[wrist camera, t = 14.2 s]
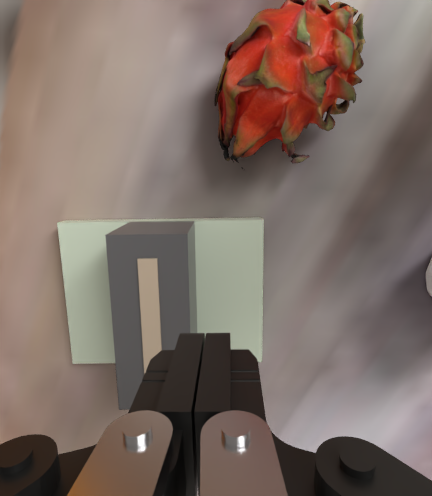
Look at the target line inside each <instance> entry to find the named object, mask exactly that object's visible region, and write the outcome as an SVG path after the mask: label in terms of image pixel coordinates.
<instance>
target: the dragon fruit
mask: <svg viewBox="0 0 432 496" xmlns="http://www.w3.org/2000/svg"><path fill="white" fill-rule="evenodd" d="M357 12H358V10H356V9H354V7H350V6H349V5H347V4H345V3H342V2H336V3H334V4H332V5H331V6H330V4H329V1H328V0H286V2H284V4H283V5H282V6H281V8H280V9H265V10H263V11H261V12H259V13H257V14H256V15H255V17H254V18H253V19H252V21H251V23H250V25H249V26H248V28H247V29H246V30H245V31H244V33H243V34H242V35H241V36H239V37H238V38H237V39H236V40H235V41H234V42H231V43H229V44H228V46H227V48H226V51H225V62H224V65H223V69H222V72H221V75H220V80H219V83H218V86H217V88H218V90H217V89H216V92H217V93H216V94H215V106H216V105H217V102H218V106H219V128H218V139H219V142H220V145H221V148H222V149H223V150H224V154H223V155H224V158H225V160H226V161H229V160H230V157H229V152H228V147H229V146H230V141H231V139H232V138H233V136H235V137H236V139H235V141H234V146H233V154H232V156H231V159H232V160H233V159H234V160H235V161H237V162H238V158H239V157H241V158H244V157H249V156H251V155H253V154H255V153H256V151H257V150H258V149H259V148H260V147H261V146H262V145H264V144H265V143H266V142H268V141H270V140H272V139H276V138H277V139H279V140H281V141H282V142H283V143H282V151H283V152H284V151H285V152H286V153H287V154H288V156H289V157H290V156H291V157H292V158H293V160H292V161H291V162H292V163H300V162H302V161H304V160H305V159H307V158H308V157H310V156H309V155H308V156H305V155H297V154H294V152H295V147H294V143H293V141H295V140H296V139H297V138H298V137H299V135H300V134H301V132H302V130H303V128H305V129H306V128H307V127H308V124H309V123H315V124H317V125H318V126H319V127H320V128H321V129H324V130H326V131H330V130H331V129H333V127H334V125H335V121H334V119H333V118H332V116H331V115H330V114H341V113H345V112H347V109H348V107H349V101H350V100H353V103H354V102H355V101H356V93H355V90H354V87H353V86H354V85H356V84H357V83H361V82H362V80H361V78H359V77H358V76H357V75H355V73H354V72H355V71H357V70H359V69H360V68H361V67H362V66H363V64H364V63H363V60H362V58H361V56H360V53H361V52H362V48H363V44H364V43H365V40H364V36H363V14H360V15H359V16H358V19H357V20H356V22H355V23H354V24H353V17H354V16H355V15H356V13H357ZM219 90H220V92H219ZM337 98H341V99H344V100H345V101H344V102H343V103H341V104H336V101H337ZM325 111H326V112H327V115H326V118H325V120H324V121H323V115H324V113H325ZM238 163H239V162H238ZM242 169H243V168H242Z"/></svg>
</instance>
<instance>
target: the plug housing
mask: <svg viewBox="0 0 432 496" xmlns="http://www.w3.org/2000/svg"><path fill="white" fill-rule="evenodd" d="M105 236H106V249H107V262H108V275H109V287H110V300H111V313H112V326H113V339H114V351H115V364H116V377H117V390H118V403H119V410H122V409H130V408H131V405H132V403H133V400H134V398H135V396H136V393H137V391H138V389H139V386H140V384H141V382H142V379H143V377H144V374H145V373H146V369H147V367H148V365H149V362H150V360H151V359H152V358H153V357H154V356H155V355H157V354H158V353H159V352H160V351H161V350H175V347H176V344H177V341H178V337H179V334H180V333H197V298H196V260H195V221H157V222H129V223H127V224H125V225H123V226H121V227H119V228H117V229H115V230H114V231H112V232H110V233H108V234H106V235H105Z"/></svg>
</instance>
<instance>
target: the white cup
mask: <svg viewBox="0 0 432 496" xmlns="http://www.w3.org/2000/svg"><path fill="white" fill-rule="evenodd" d="M426 285H427V291H428V292H429V294H430V295H431V297H432V258H431V260H430V263H429V265H428V268H427V271H426Z"/></svg>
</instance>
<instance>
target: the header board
mask: <svg viewBox="0 0 432 496" xmlns="http://www.w3.org/2000/svg"><path fill="white" fill-rule="evenodd" d="M157 221H195V260H196V298H197V333H204V334H205V336H206V333H230V339H231V349H249V350H250V351H251V352H252V354H253V355H254V356H255V357H256V358H257V361H258V362H262V329H263V235H264V219H263V218H262V217H248V218H183V219H118V220H65V221H62V222H58V223H57V225H58V234H59V243H60V252H61V262H62V271H63V280H64V289H65V298H66V307H67V317H68V326H69V335H70V344H71V353H72V362H73V364H96V363H115V351H114V339H113V326H112V313H111V300H110V287H109V275H108V262H107V249H106V236H105V235H106V234H108V233H110V232H112V231H114V230H115V229H117V228H119V227H121V226H123V225H125V224H127V223H129V222H157Z"/></svg>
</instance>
